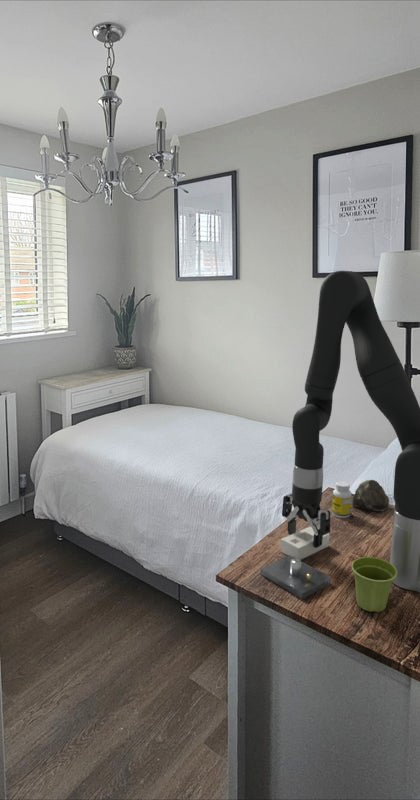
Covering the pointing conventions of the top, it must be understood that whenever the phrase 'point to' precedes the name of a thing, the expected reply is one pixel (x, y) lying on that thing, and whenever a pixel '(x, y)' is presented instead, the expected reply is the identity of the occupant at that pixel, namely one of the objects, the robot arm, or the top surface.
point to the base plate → (296, 576)
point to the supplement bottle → (341, 500)
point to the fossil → (371, 496)
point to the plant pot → (373, 582)
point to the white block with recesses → (302, 543)
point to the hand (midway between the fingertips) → (304, 540)
